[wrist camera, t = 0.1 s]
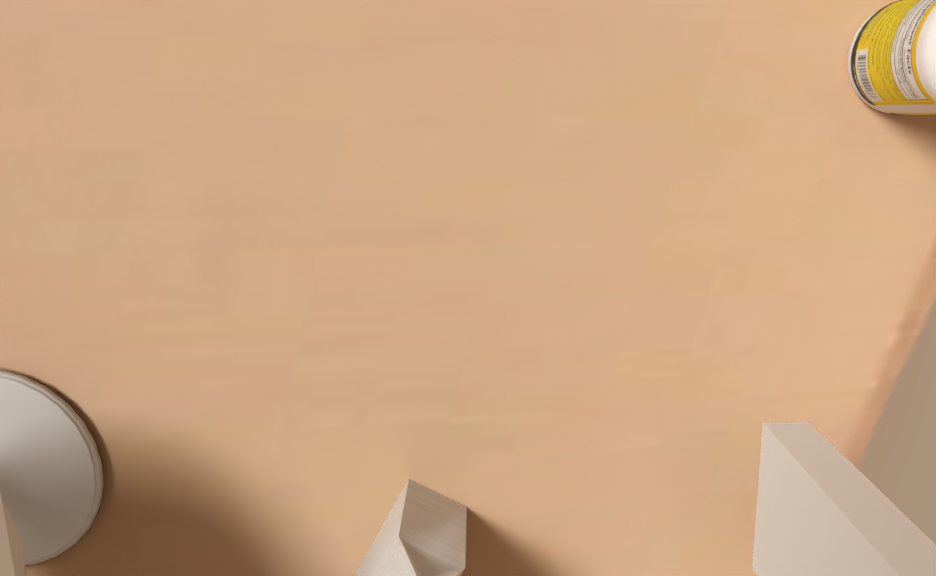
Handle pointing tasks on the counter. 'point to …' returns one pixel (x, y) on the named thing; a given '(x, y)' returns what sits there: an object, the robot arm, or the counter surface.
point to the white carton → (419, 537)
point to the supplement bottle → (896, 58)
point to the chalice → (44, 471)
